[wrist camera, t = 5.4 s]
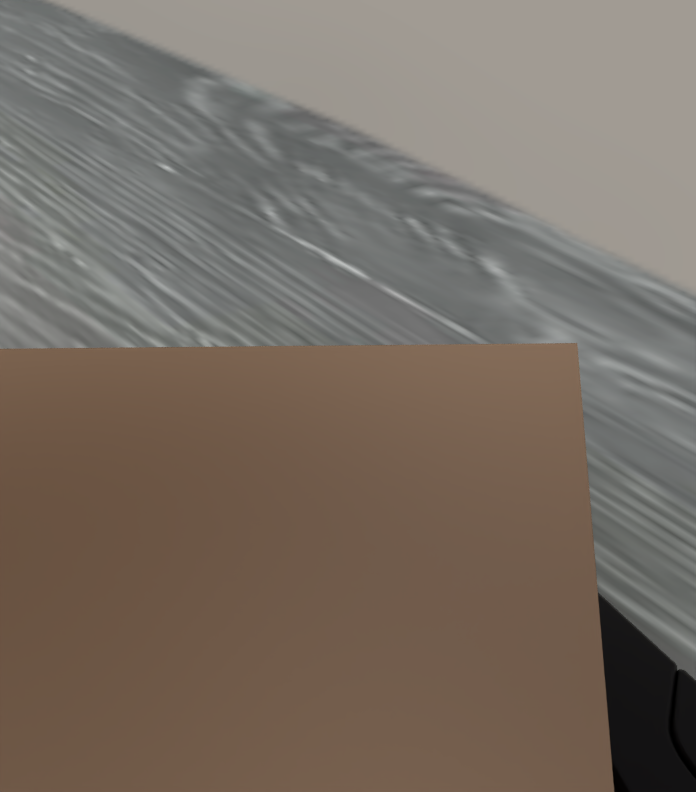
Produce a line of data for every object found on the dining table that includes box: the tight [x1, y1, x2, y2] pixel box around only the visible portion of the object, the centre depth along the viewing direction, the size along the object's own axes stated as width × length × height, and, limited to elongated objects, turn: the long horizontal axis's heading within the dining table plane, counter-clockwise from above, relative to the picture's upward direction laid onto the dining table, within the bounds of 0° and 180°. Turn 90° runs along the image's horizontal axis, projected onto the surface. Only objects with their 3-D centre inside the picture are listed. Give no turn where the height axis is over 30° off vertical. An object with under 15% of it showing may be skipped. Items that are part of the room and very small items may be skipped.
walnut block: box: [0, 343, 614, 792], centre depth 8 cm, size 5×5×12 cm
